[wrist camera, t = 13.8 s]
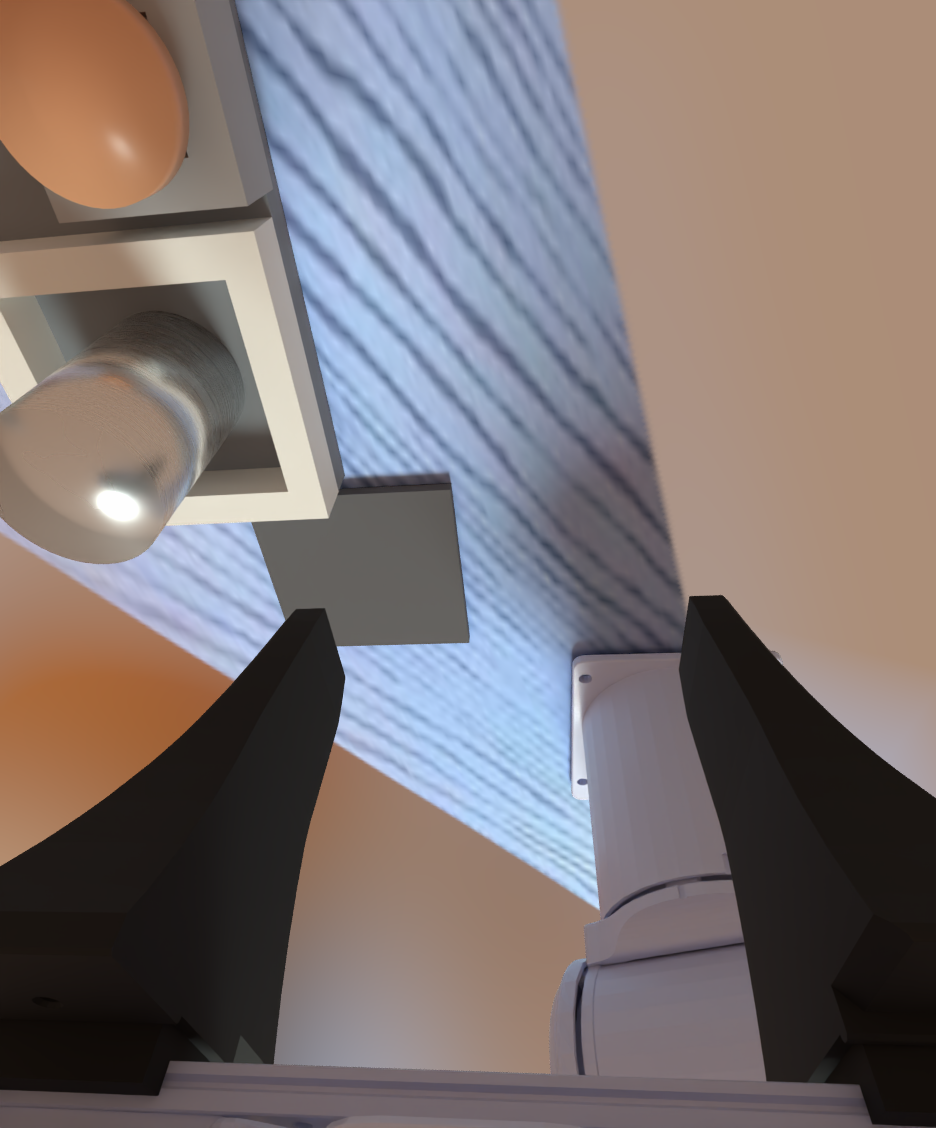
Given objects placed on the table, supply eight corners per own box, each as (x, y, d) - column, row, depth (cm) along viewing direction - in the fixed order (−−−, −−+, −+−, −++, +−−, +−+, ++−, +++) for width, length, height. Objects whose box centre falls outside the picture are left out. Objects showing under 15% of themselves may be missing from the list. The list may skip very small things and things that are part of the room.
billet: (261, 438, 21) (186, 561, 16) (136, 446, 21) (29, 566, 16) (219, 305, 18) (117, 403, 14) (79, 316, 19) (-67, 414, 14)
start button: (249, 173, 16) (200, 200, 13) (105, 187, 16) (31, 216, 14) (197, -29, 14) (128, -41, 11) (32, -8, 14) (-71, -16, 12)
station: (350, 475, 22) (331, 527, 20) (116, 487, 23) (71, 539, 21) (231, -52, 14) (176, -67, 12) (-119, -6, 15) (-234, -13, 13)
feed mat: (469, 635, 27) (469, 642, 26) (297, 640, 27) (294, 647, 27) (451, 483, 22) (450, 489, 22) (247, 493, 23) (243, 499, 23)
